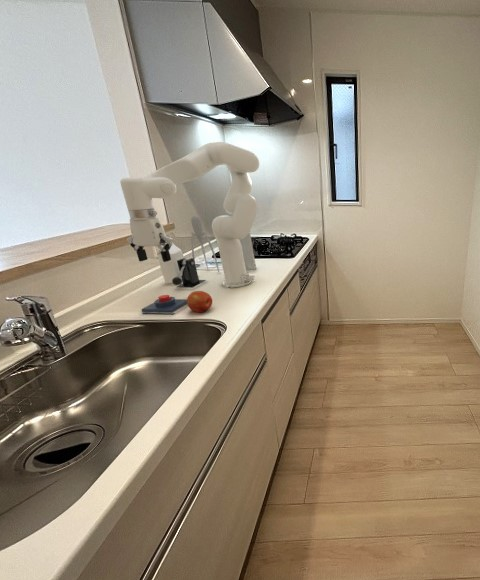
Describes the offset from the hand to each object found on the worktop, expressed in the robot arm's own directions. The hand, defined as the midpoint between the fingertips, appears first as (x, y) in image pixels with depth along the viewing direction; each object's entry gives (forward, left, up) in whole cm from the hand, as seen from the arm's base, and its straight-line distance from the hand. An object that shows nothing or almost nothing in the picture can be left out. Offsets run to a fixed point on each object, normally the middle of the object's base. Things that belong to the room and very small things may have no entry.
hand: (155, 260), depth 117 cm
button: (-2, +3, -15) cm, 15 cm away
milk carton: (+16, -27, -19) cm, 37 cm away
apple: (-17, +4, -19) cm, 26 cm away
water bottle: (-8, -49, -19) cm, 53 cm away
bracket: (+6, -23, -19) cm, 30 cm away
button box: (-2, +3, -19) cm, 19 cm away
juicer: (+8, -41, -19) cm, 46 cm away
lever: (+6, -20, -12) cm, 24 cm away
